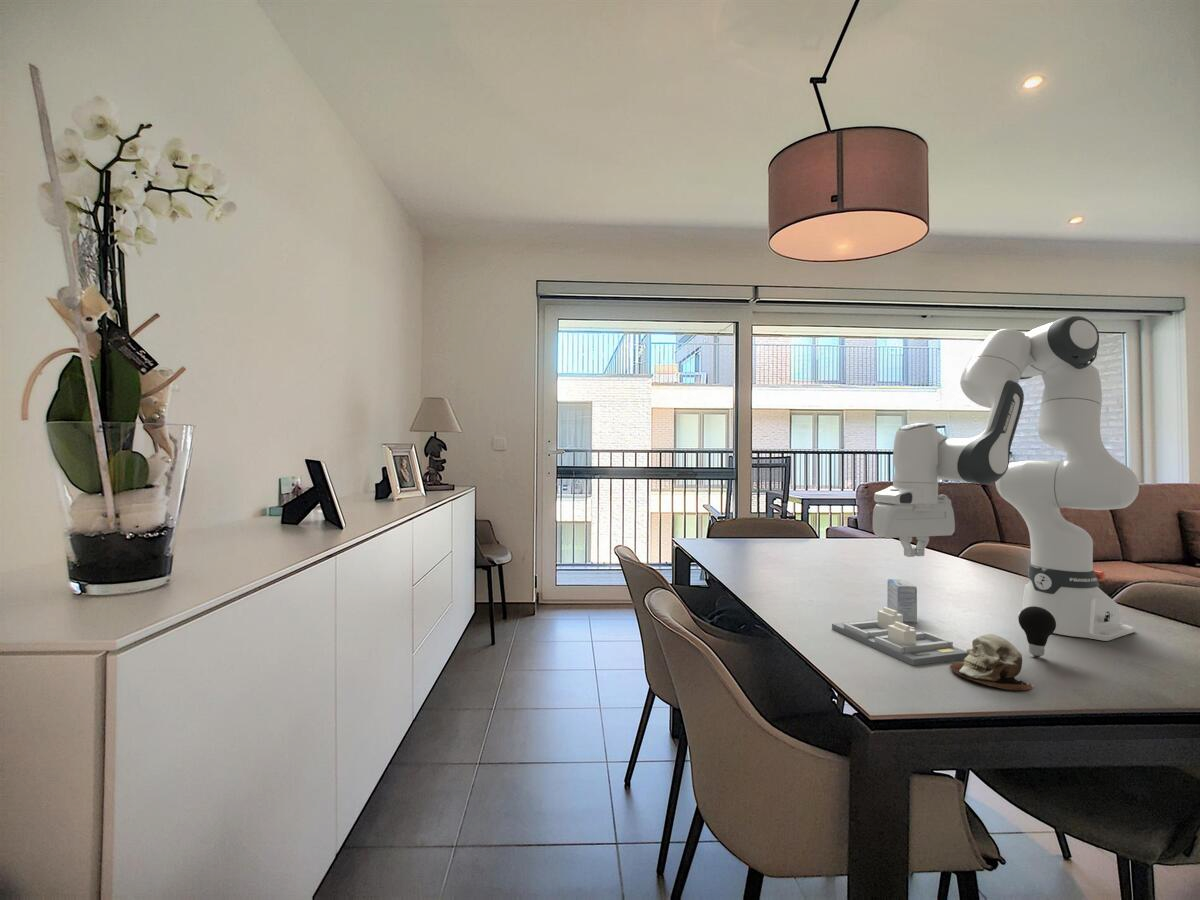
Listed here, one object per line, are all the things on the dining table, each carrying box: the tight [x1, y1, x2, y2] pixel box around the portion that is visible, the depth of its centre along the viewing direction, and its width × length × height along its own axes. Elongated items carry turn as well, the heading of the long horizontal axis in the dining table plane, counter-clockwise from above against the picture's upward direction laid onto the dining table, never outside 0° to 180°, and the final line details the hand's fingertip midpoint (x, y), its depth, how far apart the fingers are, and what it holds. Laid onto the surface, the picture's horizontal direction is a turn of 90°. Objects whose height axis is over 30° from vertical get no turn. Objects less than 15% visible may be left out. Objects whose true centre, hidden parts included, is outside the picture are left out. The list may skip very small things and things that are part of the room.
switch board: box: [831, 618, 968, 667], centre depth 117 cm, size 22×14×2 cm, turn 17°
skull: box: [949, 633, 1033, 692], centre depth 99 cm, size 12×10×10 cm
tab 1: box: [877, 606, 904, 629], centre depth 122 cm, size 3×4×4 cm
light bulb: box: [1017, 606, 1056, 658], centre depth 109 cm, size 6×6×10 cm
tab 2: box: [888, 621, 917, 646], centre depth 111 cm, size 3×4×4 cm
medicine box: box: [886, 578, 918, 624], centre depth 135 cm, size 8×4×9 cm, turn 168°
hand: (914, 556), depth 124 cm, fingers closed
